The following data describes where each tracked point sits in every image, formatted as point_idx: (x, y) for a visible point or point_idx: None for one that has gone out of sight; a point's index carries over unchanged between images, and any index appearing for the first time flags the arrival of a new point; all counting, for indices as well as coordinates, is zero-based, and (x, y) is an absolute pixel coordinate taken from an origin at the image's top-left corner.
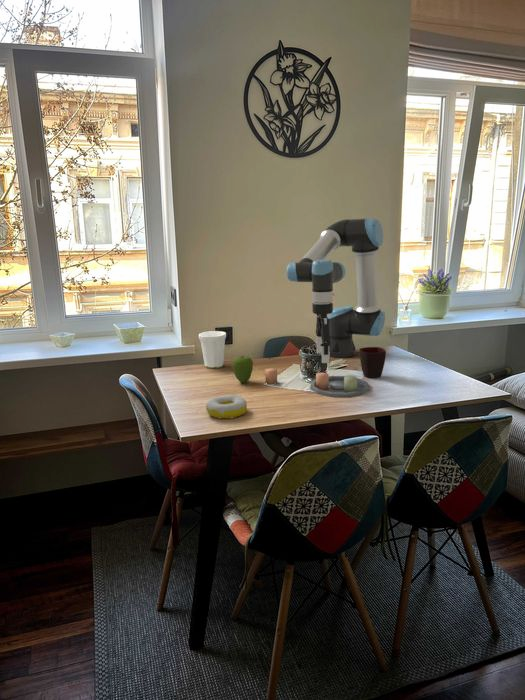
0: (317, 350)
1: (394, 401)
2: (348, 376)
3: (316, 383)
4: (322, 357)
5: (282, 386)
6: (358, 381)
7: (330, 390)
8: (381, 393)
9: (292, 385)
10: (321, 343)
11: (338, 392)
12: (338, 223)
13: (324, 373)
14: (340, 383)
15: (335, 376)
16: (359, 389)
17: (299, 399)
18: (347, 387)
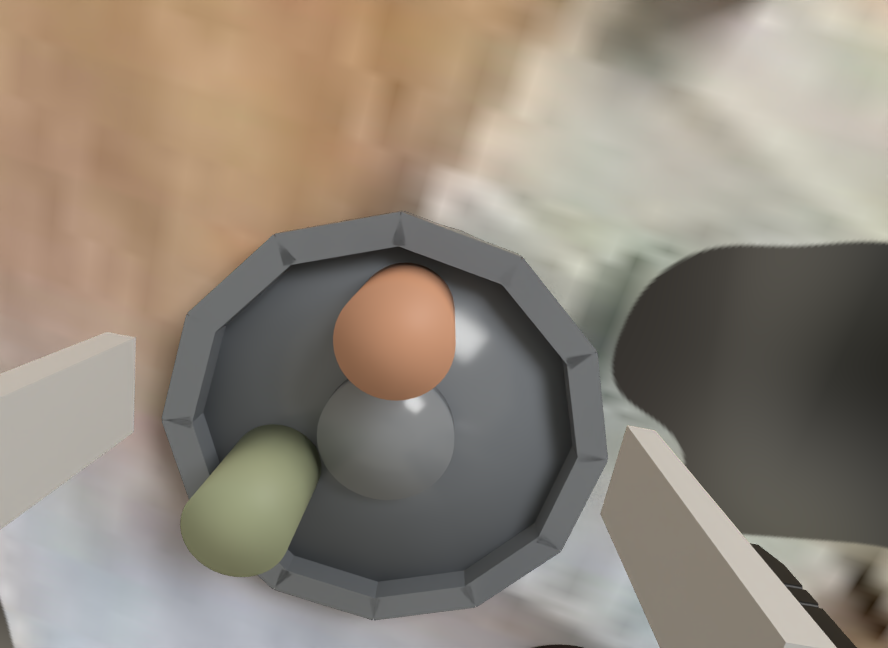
0: (641, 454)
1: (116, 625)
2: (274, 528)
3: (397, 269)
4: (40, 365)
5: (614, 10)
6: (443, 581)
7: None
8: (261, 618)
9: (607, 111)
10: (668, 599)
11: (202, 372)
12: None
13: (417, 372)
14: (403, 455)
15: (581, 479)
16: (311, 531)
17: (248, 67)
18: (226, 456)
